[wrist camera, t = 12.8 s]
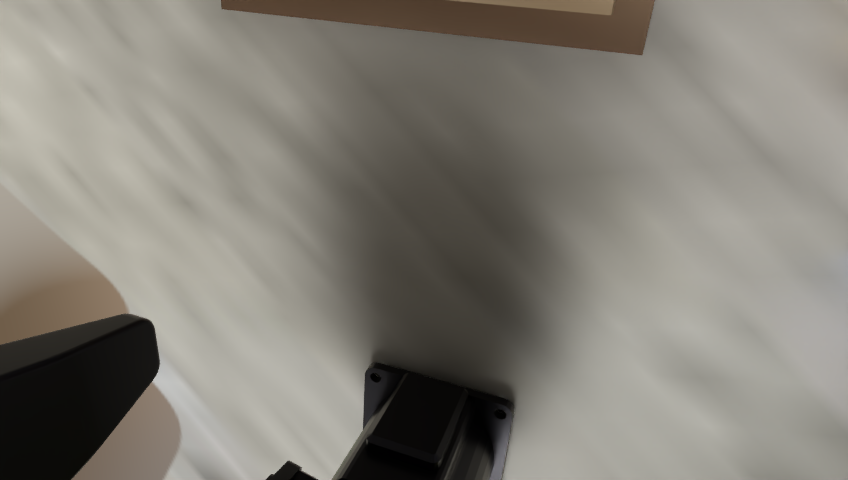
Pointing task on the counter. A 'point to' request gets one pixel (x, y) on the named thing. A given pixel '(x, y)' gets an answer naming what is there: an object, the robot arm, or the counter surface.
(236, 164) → the counter surface
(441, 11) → the board
